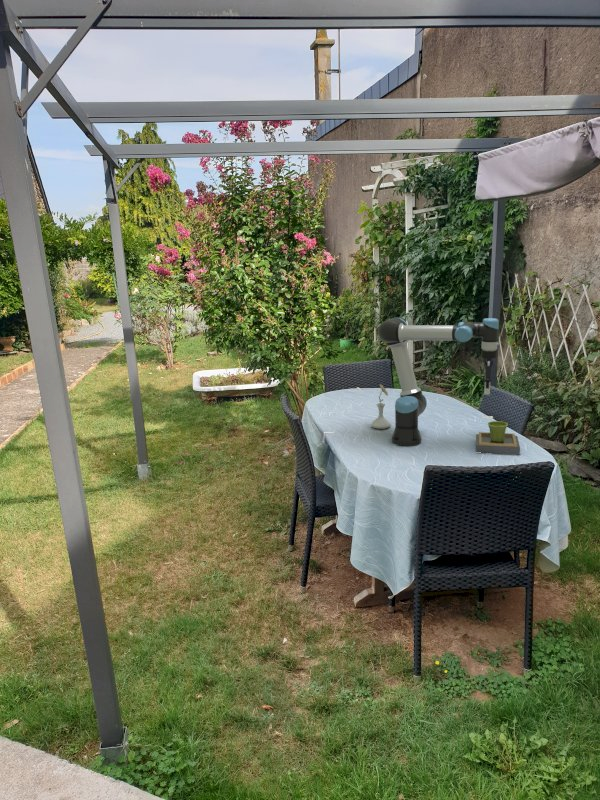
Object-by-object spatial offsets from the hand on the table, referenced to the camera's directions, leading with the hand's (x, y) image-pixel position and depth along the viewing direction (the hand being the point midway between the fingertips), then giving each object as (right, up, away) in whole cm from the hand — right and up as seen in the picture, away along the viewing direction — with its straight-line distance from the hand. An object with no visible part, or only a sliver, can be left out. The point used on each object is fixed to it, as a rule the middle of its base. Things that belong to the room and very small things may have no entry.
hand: (487, 391), depth 288 cm
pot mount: (+4, -29, -4) cm, 29 cm away
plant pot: (+4, -25, -4) cm, 25 cm away
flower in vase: (-48, -20, +39) cm, 65 cm away
